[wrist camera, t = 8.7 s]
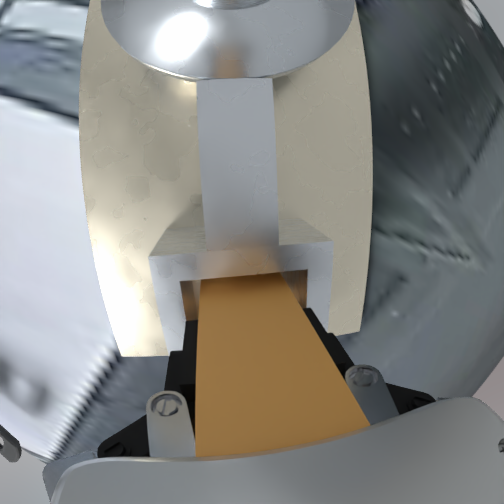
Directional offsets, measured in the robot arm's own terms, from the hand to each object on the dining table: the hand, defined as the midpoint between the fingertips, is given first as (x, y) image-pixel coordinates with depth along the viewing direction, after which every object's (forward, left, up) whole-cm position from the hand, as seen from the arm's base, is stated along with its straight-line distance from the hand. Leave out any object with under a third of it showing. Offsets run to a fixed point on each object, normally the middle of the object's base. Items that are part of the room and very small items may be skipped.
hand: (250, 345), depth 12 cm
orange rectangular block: (0, 0, -3) cm, 3 cm away
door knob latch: (-8, 0, -7) cm, 11 cm away
